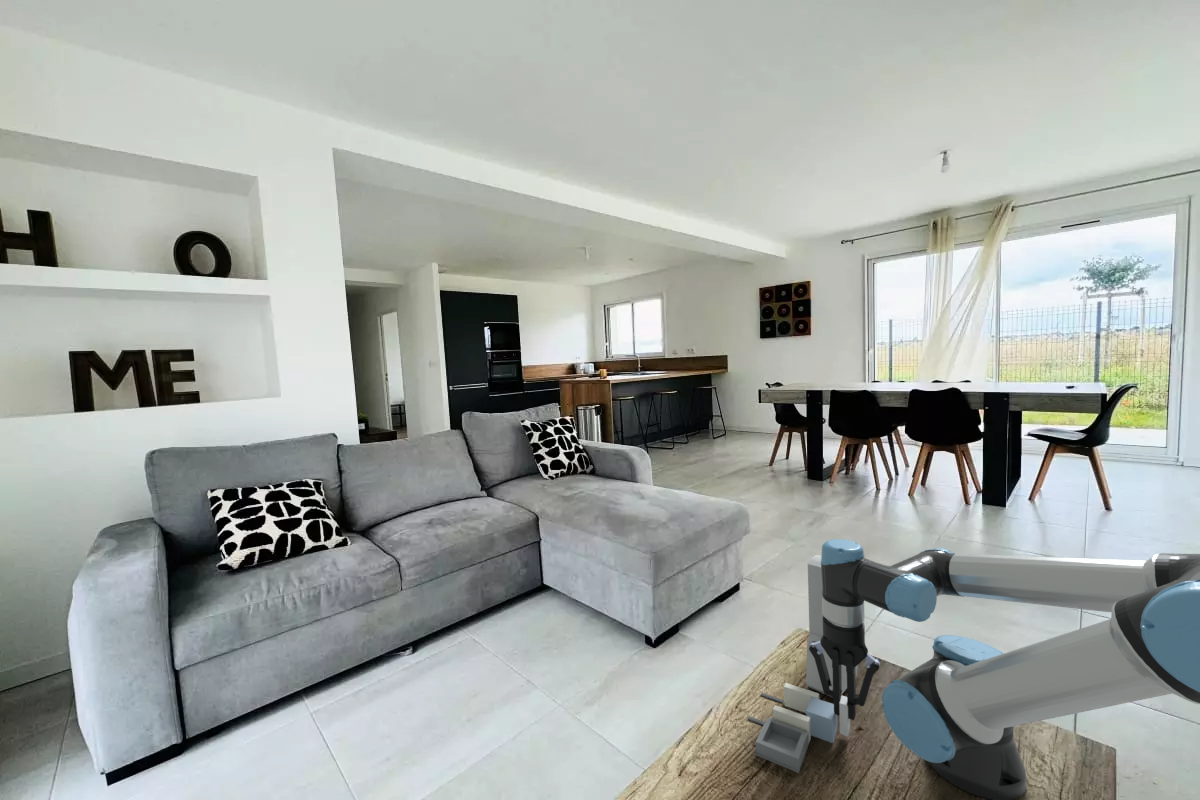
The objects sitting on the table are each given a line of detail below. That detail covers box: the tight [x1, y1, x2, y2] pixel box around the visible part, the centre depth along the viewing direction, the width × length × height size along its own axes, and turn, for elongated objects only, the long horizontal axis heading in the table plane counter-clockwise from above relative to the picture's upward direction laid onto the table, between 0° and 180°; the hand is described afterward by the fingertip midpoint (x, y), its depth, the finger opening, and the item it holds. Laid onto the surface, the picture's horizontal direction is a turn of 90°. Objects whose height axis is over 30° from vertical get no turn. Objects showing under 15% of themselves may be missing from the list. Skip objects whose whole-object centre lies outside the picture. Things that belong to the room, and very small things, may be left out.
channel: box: [772, 682, 820, 744], centre depth 104 cm, size 7×10×4 cm
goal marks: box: [747, 692, 784, 726], centre depth 108 cm, size 5×10×1 cm, turn 145°
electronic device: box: [805, 554, 859, 698], centre depth 114 cm, size 12×8×30 cm, turn 133°
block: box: [805, 697, 839, 744], centre depth 101 cm, size 5×5×5 cm
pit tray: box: [755, 716, 810, 774], centre depth 96 cm, size 8×8×3 cm
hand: (845, 730), depth 98 cm, fingers closed
